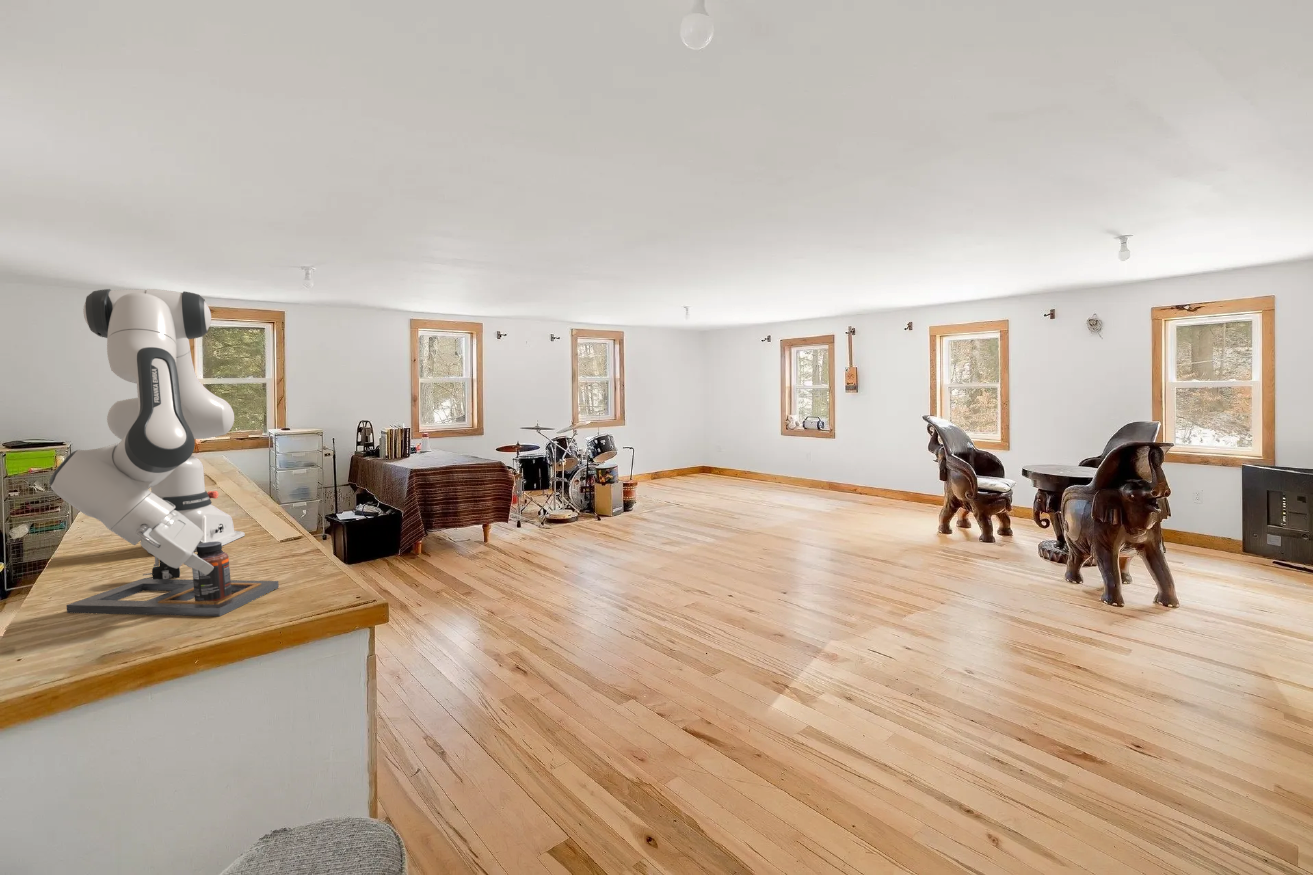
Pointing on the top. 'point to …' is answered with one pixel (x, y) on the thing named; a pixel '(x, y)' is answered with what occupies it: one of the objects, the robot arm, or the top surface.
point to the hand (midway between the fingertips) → (213, 564)
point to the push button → (163, 571)
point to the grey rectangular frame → (170, 598)
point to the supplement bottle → (212, 574)
